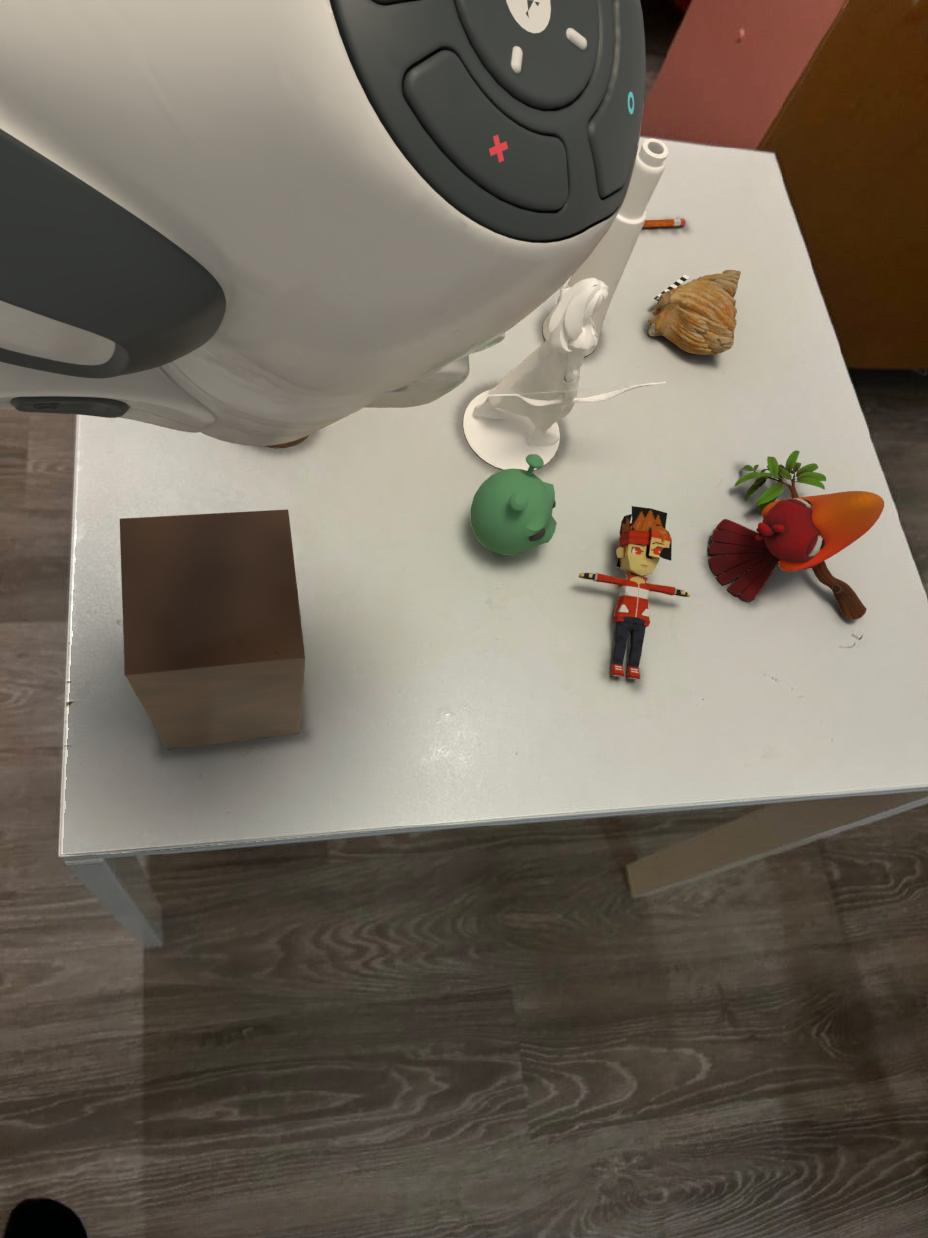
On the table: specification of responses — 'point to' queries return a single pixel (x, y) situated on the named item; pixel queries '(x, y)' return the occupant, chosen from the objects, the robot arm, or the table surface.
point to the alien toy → (514, 510)
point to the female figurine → (539, 386)
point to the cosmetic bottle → (622, 229)
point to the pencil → (664, 223)
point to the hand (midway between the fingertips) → (182, 388)
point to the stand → (213, 625)
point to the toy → (636, 582)
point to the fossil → (698, 313)
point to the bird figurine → (793, 533)
